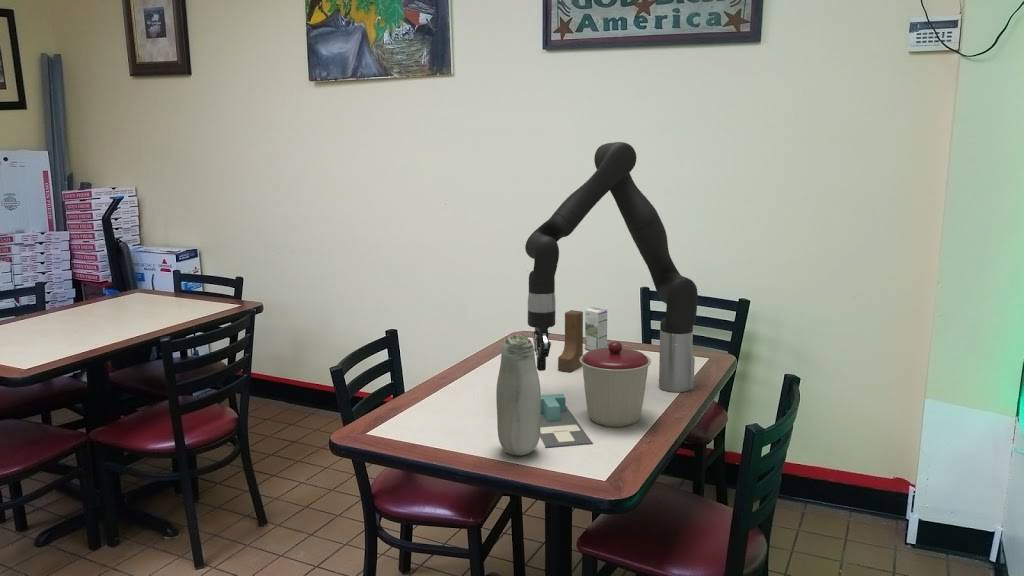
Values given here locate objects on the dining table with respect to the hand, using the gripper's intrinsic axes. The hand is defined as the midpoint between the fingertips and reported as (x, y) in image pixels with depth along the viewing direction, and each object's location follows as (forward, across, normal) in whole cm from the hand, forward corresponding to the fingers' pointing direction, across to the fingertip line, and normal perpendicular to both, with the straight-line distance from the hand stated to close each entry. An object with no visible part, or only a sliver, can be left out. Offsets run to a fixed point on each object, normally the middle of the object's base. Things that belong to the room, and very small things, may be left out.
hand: (541, 369), depth 205 cm
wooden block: (+10, +30, -16) cm, 35 cm away
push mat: (+10, -16, 0) cm, 19 cm away
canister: (+10, -16, -16) cm, 25 cm away
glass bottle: (+10, -31, +12) cm, 35 cm away
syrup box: (+10, +49, -30) cm, 58 cm away
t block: (+9, -10, 0) cm, 14 cm away
